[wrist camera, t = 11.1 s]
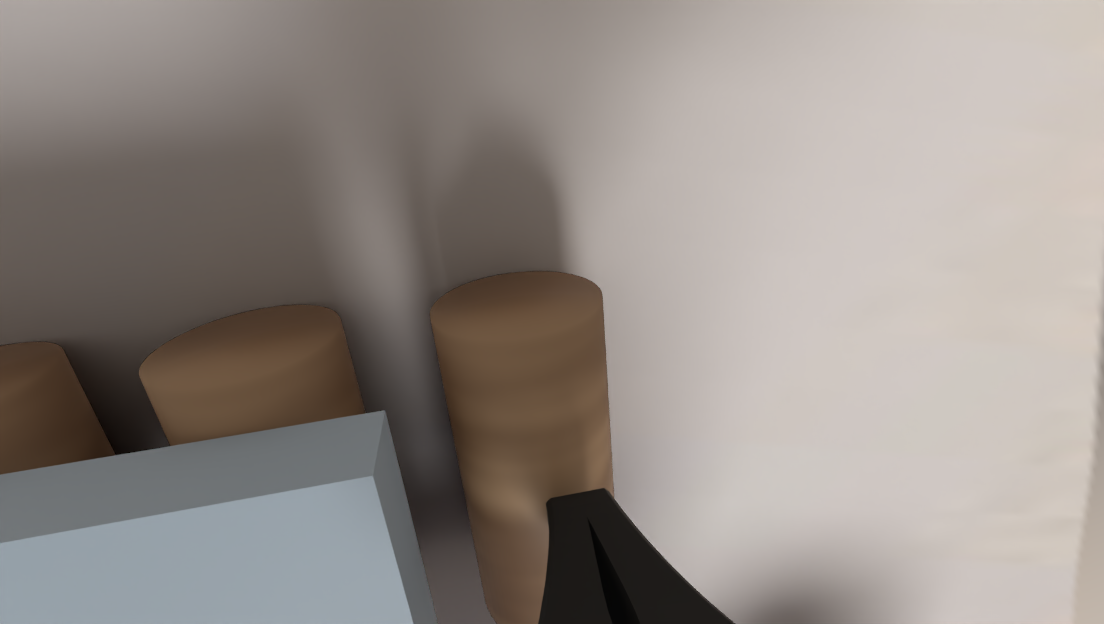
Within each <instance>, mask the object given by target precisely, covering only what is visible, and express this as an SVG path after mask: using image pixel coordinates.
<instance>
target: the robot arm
mask: <svg viewBox="0 0 1104 624" xmlns="http://www.w3.org/2000/svg"><path fill="white" fill-rule="evenodd" d="M546 509H547V518H548V527H549V549H548V560H547V570H546V580H545V587H544V593H543V599H542V605H541V611H540V617H539V622H538V624H735V623H734V622H733V621H731V620H730V619H729V618H728V617H727V616H725V615H724V614H723V613H722V612H721V611H719V610H718V609H717V608H716V607H715V606H714V605H712V604H711V603H710V602H709V601H708V600H707V599H706V598H705V597H703V596H702V595H701V594H700V593H699V592H698V591H697V590H696V589H695V588H694V587H693V586H692V585H691V584H690V583H688V582H687V581H686V580H685V579H684V578H683V577H682V576H681V575H680V574H679V573H678V572H677V571H676V570H675V569H674V568H673V567H672V566H671V565H670V564H669V563H668V562H667V561H666V560H665V558H664V557H663V556H662V555H661V554H660V553H659V552H658V551H657V550H656V549H655V548H654V547H653V545H652V544H651V543H650V542H649V541H648V540H647V539H646V538H645V537H644V535H643V534H642V533H641V532H640V531H639V530H638V528H637V527H636V526H635V525H634V524H633V522H632V521H631V520H630V519H629V517H628V516H627V515H626V514H625V512H624V511H623V510H622V509H621V507H620V506H619V505H618V503H617V502H616V500H615V499H614V498H613V496H612V495H611V493H610V492H609V491H608V490H607V489H605V488H601V489H595V490H590V491H585V492H580V493H574V494H569V495H564V496H558V497H553V498H550V499H549V500H548V501H547V502H546Z"/></svg>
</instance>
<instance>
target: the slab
mask: <svg viewBox="0 0 1104 624" xmlns="http://www.w3.org/2000/svg"><path fill="white" fill-rule="evenodd" d="M0 624H438V621H437V617H436V613H435V609H434V605H433V601H432V597H431V593H430V589H429V585H428V581H427V577H426V573H425V569H424V565H423V561H422V557H421V553H420V549H419V545H418V541H417V537H416V533H415V529H414V525H413V521H412V517H411V513H410V508H409V504H408V500H407V496H406V492H405V488H404V484H403V480H402V476H401V472H400V468H399V464H398V460H397V456H396V452H395V448H394V444H393V440H392V436H391V432H390V428H389V424H388V420H387V416H386V412H385V410H383V411H377V412H371V413H365V414H359V415H353V416H347V417H342V418H336V419H330V420H324V421H318V422H312V423H306V424H300V425H294V426H288V427H282V428H276V429H270V430H264V431H258V432H252V433H246V434H240V435H234V436H228V437H222V438H216V439H210V440H204V441H198V442H192V443H186V444H180V445H174V446H168V447H162V448H156V449H150V450H144V451H139V452H133V453H127V454H121V455H115V456H109V457H103V458H97V459H91V460H85V461H79V462H73V463H67V464H61V465H55V466H49V467H43V468H37V469H31V470H25V471H19V472H13V473H7V474H1V475H0Z"/></svg>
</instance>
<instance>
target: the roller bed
mask: <svg viewBox="0 0 1104 624" xmlns="http://www.w3.org/2000/svg"><path fill="white" fill-rule="evenodd" d="M430 320H431V325H432V330H433V335H434V341H435V346H436V351H437V356H438V361H439V366H440V371H441V377H442V382H443V387H444V392H445V397H446V402H447V407H448V412H449V418H450V423H451V428H452V433H453V438H454V443H455V448H456V454H457V459H458V464H459V469H460V474H461V479H462V484H463V490H464V495H465V500H466V505H467V510H468V515H469V520H470V526H471V531H472V536H473V541H474V546H475V551H476V556H477V562H478V567H479V572H480V577H481V582H482V587H483V592H484V598H485V602H486V605H487V608H488V610H489V612H490V614H491V616H492V617H493V619H494V620H495V622H496V623H497V624H538V622H539V617H540V611H541V605H542V599H543V593H544V587H545V580H546V570H547V560H548V549H549V527H548V518H547V509H546V502H547V501H548V500H549V499H550V498H553V497H558V496H564V495H569V494H574V493H580V492H585V491H590V490H595V489H601V488H605V489H607V490H608V491H609V492H610V493H611V495H612V496H613V498H614V487H613V469H612V452H611V435H610V417H609V400H608V383H607V365H606V348H605V331H604V313H603V296H602V292H601V290H600V288H599V287H598V286H597V285H596V284H595V283H593V282H592V281H590V280H588V279H585V278H583V277H580V276H576V275H573V274H567V273H561V272H550V271H527V272H515V273H507V274H501V275H496V276H491V277H487V278H483V279H479V280H476V281H473V282H470V283H467V284H464V285H462V286H460V287H457V288H455V289H453V290H451V291H450V292H448V293H446V294H445V295H443V296H442V297H441V298H439V299H438V300H437V301H436V302H435V303H434V305H433V306H432V308H431V310H430ZM139 377H140V379H141V381H142V384H143V386H144V388H145V390H146V393H147V395H148V397H149V399H150V402H151V404H152V406H153V408H154V411H155V413H156V415H157V417H158V420H159V422H160V424H161V426H162V429H163V431H164V433H165V435H166V438H167V440H168V442H169V444H170V446H174V445H180V444H186V443H192V442H198V441H204V440H210V439H216V438H222V437H228V436H234V435H240V434H246V433H252V432H258V431H264V430H270V429H276V428H282V427H288V426H294V425H300V424H306V423H312V422H318V421H324V420H330V419H336V418H342V417H347V416H353V415H359V414H365V413H366V412H365V409H364V405H363V401H362V397H361V394H360V390H359V386H358V382H357V378H356V375H355V371H354V367H353V363H352V360H351V356H350V352H349V348H348V345H347V341H346V337H345V333H344V329H343V326H342V322H341V318H340V316H339V315H338V314H337V313H336V312H335V311H333V310H331V309H329V308H326V307H321V306H315V305H285V306H276V307H268V308H262V309H257V310H252V311H248V312H244V313H239V314H236V315H232V316H228V317H225V318H222V319H219V320H216V321H213V322H210V323H207V324H205V325H202V326H199V327H197V328H195V329H192V330H190V331H188V332H186V333H183V334H181V335H179V336H177V337H176V338H174V339H172V340H170V341H168V342H167V343H165V344H163V345H162V346H160V347H159V348H158V349H156V350H155V351H154V352H152V353H151V354H150V355H149V356H148V357H147V358H146V359H145V360H144V361H143V363H142V365H141V366H140V369H139ZM109 456H115V453H114V451H113V449H112V447H111V445H110V443H109V441H108V439H107V437H106V435H105V433H104V431H103V429H102V427H101V425H100V423H99V421H98V419H97V417H96V415H95V413H94V411H93V409H92V407H91V405H90V403H89V401H88V399H87V397H86V395H85V393H84V391H83V389H82V387H81V385H80V383H79V380H78V378H77V376H76V374H75V372H74V370H73V368H72V366H71V364H70V362H69V360H68V358H67V356H66V354H65V352H64V350H63V348H62V347H61V346H60V345H57V344H54V343H50V342H25V343H16V344H8V345H2V346H0V475H1V474H7V473H13V472H19V471H25V470H31V469H37V468H43V467H49V466H55V465H61V464H67V463H73V462H79V461H85V460H91V459H97V458H103V457H109Z"/></svg>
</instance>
